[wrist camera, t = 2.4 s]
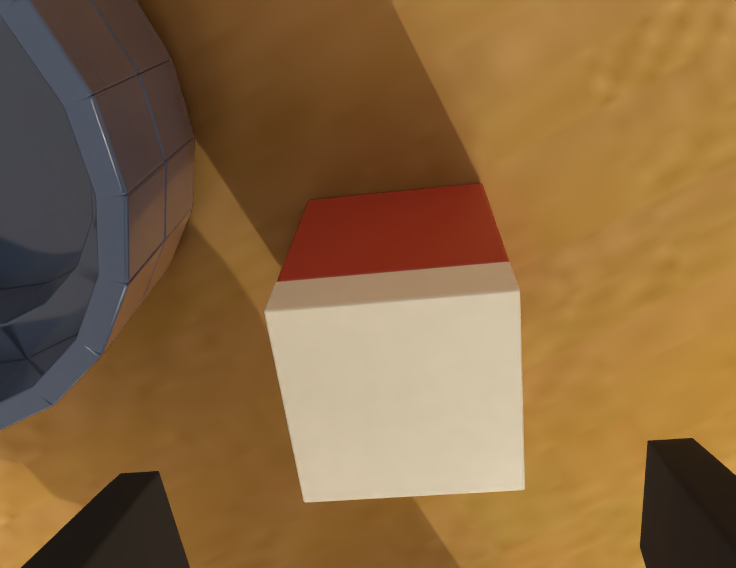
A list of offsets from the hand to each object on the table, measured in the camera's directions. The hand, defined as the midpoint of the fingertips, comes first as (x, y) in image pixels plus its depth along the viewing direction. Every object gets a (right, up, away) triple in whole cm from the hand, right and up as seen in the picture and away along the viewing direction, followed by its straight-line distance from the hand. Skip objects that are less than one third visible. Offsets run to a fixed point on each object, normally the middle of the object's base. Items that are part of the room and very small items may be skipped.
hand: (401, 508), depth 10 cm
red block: (0, +4, +8) cm, 9 cm away
